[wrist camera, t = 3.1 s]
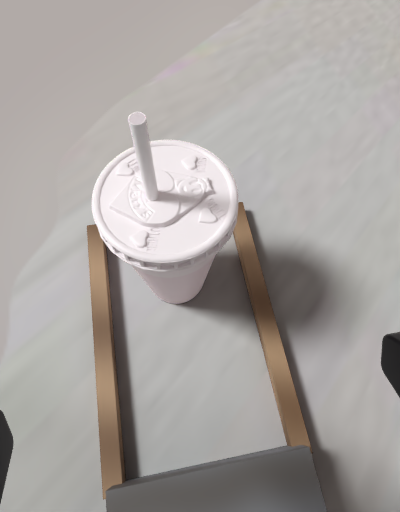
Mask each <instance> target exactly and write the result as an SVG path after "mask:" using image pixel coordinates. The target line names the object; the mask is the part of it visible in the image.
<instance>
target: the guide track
mask: <svg viewBox="0 0 400 512" xmlns="http://www.w3.org/2000/svg"><path fill="white" fill-rule="evenodd" d="M233 234H234V238H235V242H236V246H237V250H238V254H239V258H240V262H241V266H242V269H243V273H244V277H245V281H246V285H247V289H248V293H249V297H250V301H251V305H252V309H253V312H254V316H255V320H256V324H257V328H258V332H259V336H260V340H261V344H262V348H263V352H264V355H265V359H266V363H267V367H268V371H269V375H270V379H271V383H272V387H273V391H274V395H275V399H276V402H277V406H278V410H279V414H280V418H281V422H282V426H283V430H284V434H285V438H286V442H287V445H288V446H283V447H278V448H274V449H269V450H265V451H260V452H255V453H251V454H246V455H241V456H237V457H232V458H227V459H223V460H218V461H214V462H209V463H204V464H200V465H195V466H190V467H186V468H181V469H177V470H172V471H167V472H163V473H158V474H153V475H149V476H144V477H140V478H135V479H130V480H126V477H125V465H124V453H123V441H122V429H121V417H120V405H119V393H118V381H117V369H116V357H115V345H114V333H113V321H112V309H111V297H110V285H109V273H108V261H107V249H106V244H105V242H104V241H103V240H102V238H101V236H100V233H99V230H98V227H97V225H96V224H95V225H88V226H87V236H88V253H89V269H90V286H91V303H92V320H93V337H94V354H95V371H96V388H97V405H98V421H99V438H100V455H101V472H102V489H103V499H106V508H107V512H327V509H326V506H325V502H324V498H323V495H322V491H321V488H320V484H319V480H318V477H317V473H316V470H315V466H314V462H313V459H312V455H311V454H313V452H312V448H311V445H310V441H309V438H308V434H307V431H306V427H305V423H304V420H303V416H302V413H301V409H300V406H299V402H298V398H297V395H296V391H295V388H294V384H293V381H292V377H291V373H290V370H289V366H288V363H287V359H286V356H285V352H284V348H283V345H282V341H281V338H280V334H279V331H278V327H277V323H276V320H275V316H274V313H273V309H272V306H271V302H270V298H269V295H268V291H267V288H266V284H265V281H264V277H263V273H262V270H261V266H260V263H259V259H258V256H257V252H256V248H255V245H254V241H253V238H252V234H251V231H250V227H249V223H248V220H247V216H246V213H245V209H244V206H243V202H239V203H238V215H237V223H236V225H235V228H234V230H233Z"/></svg>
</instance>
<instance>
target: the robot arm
mask: <svg viewBox="0 0 400 512" xmlns="http://www.w3.org/2000/svg"><path fill="white" fill-rule="evenodd" d="M381 366H382V370H383V372H384V374H385V375H386V377H387V379H388V380H389V382H390V383H391V385H392V386H393V388H394V389H395V391H396V393H397V394H398V396H399V397H400V332H397V333H392V334H387V335H385V336H384V337H383V341H382V355H381ZM12 450H13V436H12V433H11V431H10V428H9V426H8V423H7V421H6V418H5V416H4V414H3V412H2V411H1V410H0V503H1V499H2V494H3V490H4V485H5V481H6V476H7V472H8V468H9V463H10V459H11V454H12Z"/></svg>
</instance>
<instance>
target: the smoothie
mask: <svg viewBox="0 0 400 512" xmlns="http://www.w3.org/2000/svg"><path fill="white" fill-rule="evenodd" d="M128 121H129V126H130V130H131V134H132V139H133V143H134V147H131V148H129V149H127V150H126V151H124V152H122V153H121V154H119V155H118V156H117V157H115V158H114V159H113V160H112V161H111V162H110V163H109V164H108V165H107V166H106V167H105V168H104V169H103V171H102V172H101V174H100V175H99V177H98V179H97V181H96V184H95V186H94V189H93V193H92V213H93V217H94V220H95V223H96V225H97V227H98V230H99V233H100V236H101V238H102V240H103V241H104V242H105V244H106V245H107V246H108V248H109V249H110V251H111V252H112V253H114V254H115V255H116V256H118V257H119V258H120V259H122V260H123V261H124V262H126V263H128V264H130V265H132V267H133V268H134V269H135V270H136V272H137V273H138V274H139V275H140V277H141V278H142V279H143V280H144V281H145V283H146V284H147V285H148V286H149V288H150V289H151V290H152V291H153V293H154V294H155V295H156V296H157V297H158V298H159V299H161V300H163V301H165V302H167V303H172V304H180V303H184V302H187V301H189V300H191V299H193V298H194V297H195V296H196V295H197V294H198V293H199V292H200V290H201V288H202V286H203V284H204V281H205V279H206V276H207V274H208V272H209V269H210V267H211V265H212V262H213V260H214V258H215V255H216V254H217V253H218V252H219V251H220V250H221V248H222V247H223V246H224V245H225V244H226V242H227V241H228V240H229V239H230V237H231V235H232V232H233V230H234V228H235V225H236V223H237V215H238V189H237V185H236V182H235V179H234V177H233V175H232V173H231V172H230V170H229V169H228V167H227V166H226V165H225V163H224V162H223V161H222V160H221V159H220V158H218V157H217V156H216V155H215V154H213V153H212V152H210V151H209V150H207V149H205V148H203V147H201V146H198V145H196V144H193V143H189V142H185V141H179V140H156V141H150V140H149V134H148V128H147V122H146V116H145V115H144V114H143V113H141V112H134V113H132V114H130V115H129V117H128Z"/></svg>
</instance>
